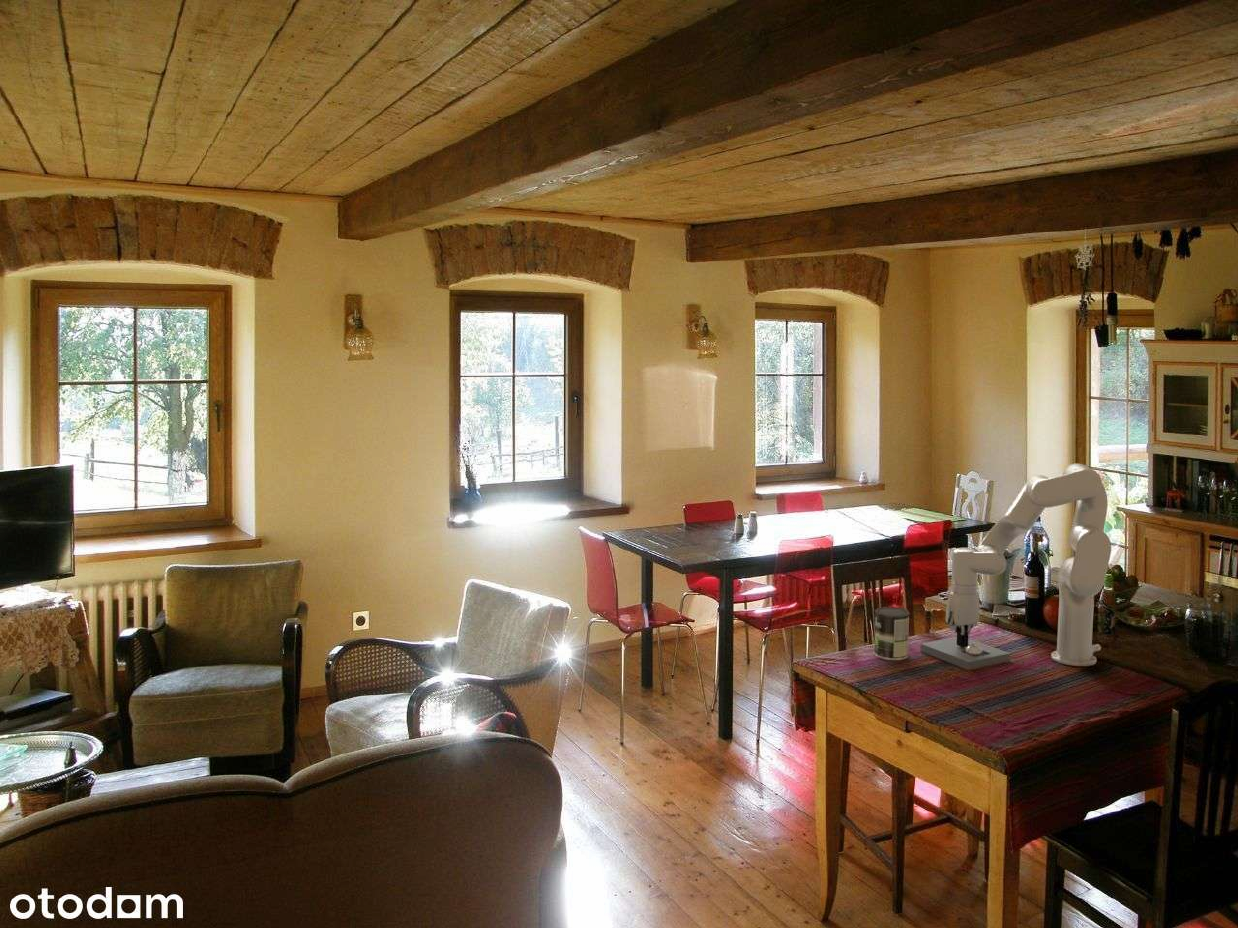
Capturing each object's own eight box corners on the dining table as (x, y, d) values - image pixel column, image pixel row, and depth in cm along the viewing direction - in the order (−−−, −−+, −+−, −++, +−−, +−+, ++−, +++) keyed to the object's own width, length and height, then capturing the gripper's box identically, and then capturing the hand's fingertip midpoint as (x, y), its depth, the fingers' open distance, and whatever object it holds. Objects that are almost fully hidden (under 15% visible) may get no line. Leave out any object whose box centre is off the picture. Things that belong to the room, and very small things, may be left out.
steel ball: (988, 656, 305) (977, 661, 309) (982, 640, 307) (971, 646, 311) (976, 657, 303) (965, 663, 307) (970, 642, 305) (959, 647, 309)
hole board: (960, 643, 324) (960, 635, 324) (1009, 660, 306) (1010, 653, 306) (920, 651, 316) (920, 643, 316) (968, 670, 299) (968, 661, 298)
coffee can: (876, 660, 309) (877, 615, 307) (872, 649, 319) (873, 606, 317) (910, 661, 307) (911, 616, 305) (905, 650, 317) (907, 607, 316)
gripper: (973, 582, 316) (971, 639, 318) (937, 588, 309) (935, 646, 312) (991, 587, 309) (989, 645, 312) (955, 594, 303) (953, 653, 305)
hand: (962, 645), depth 312 cm, fingers closed
